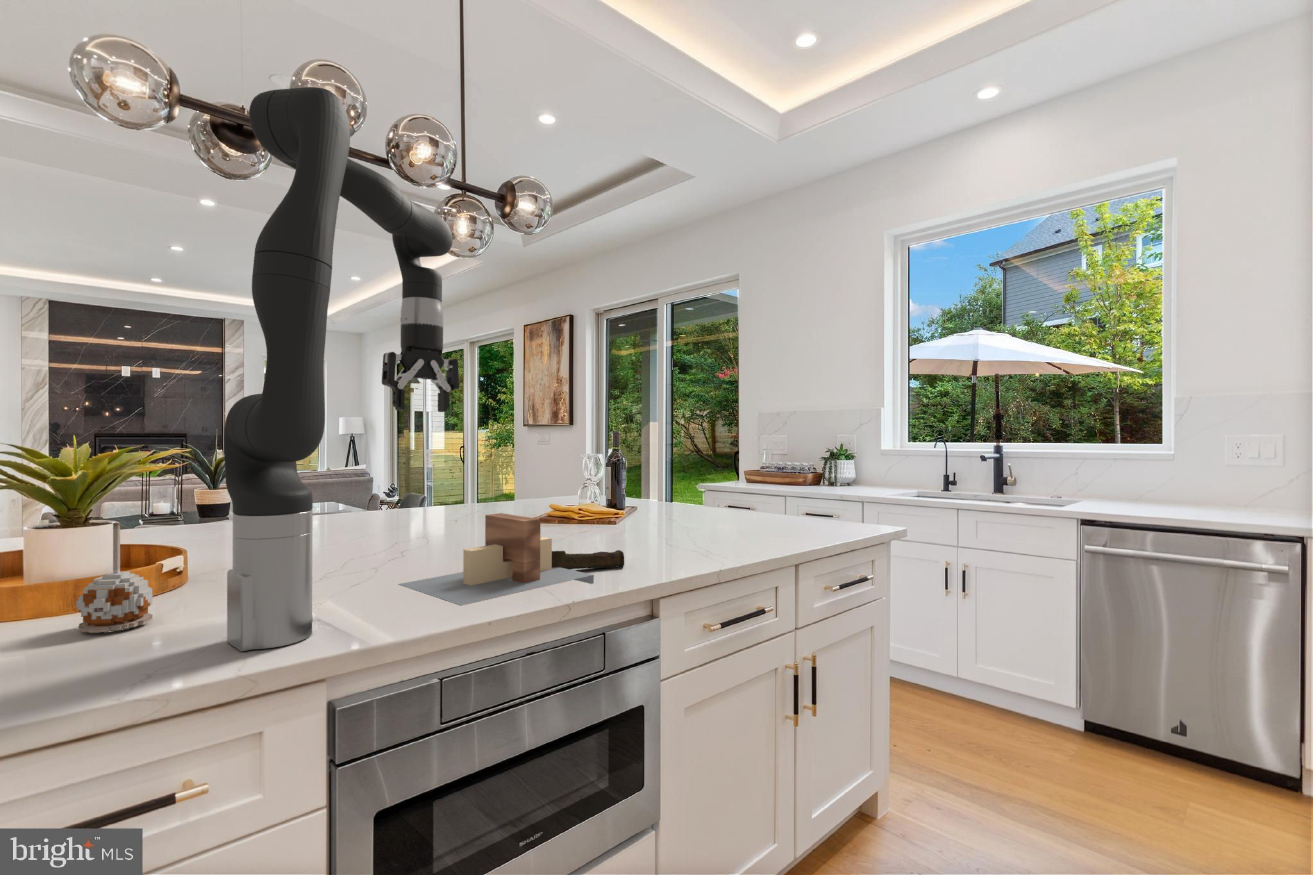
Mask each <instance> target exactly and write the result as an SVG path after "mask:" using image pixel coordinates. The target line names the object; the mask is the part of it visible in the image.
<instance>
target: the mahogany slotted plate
mask: <svg viewBox="0 0 1313 875" xmlns="http://www.w3.org/2000/svg"><path fill="white" fill-rule="evenodd" d="M484 518H485V521H484V522H485V524H484V526H485V527H484V528H485V531H484V532H485V534H484V535H485V536H484V539H485V540H484V541H485V542H484V546H488V545H495V544H496V545H500V546H503V559H510V560H513V562H512V580H514V581H518V582H522V583H527V582H532V581H536V580H540V537H541V519H540V518H535V517H529V516H523V515H515V514H509V513H502V512H500V513H493V514H485V517H484Z"/></svg>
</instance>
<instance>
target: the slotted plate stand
mask: <svg viewBox="0 0 1313 875" xmlns="http://www.w3.org/2000/svg"><path fill="white" fill-rule="evenodd" d="M552 543H553V538H552V537H546V536H542V537H541V536H540V580H536V581H532V582H527V583H522V582H518V581H514V580H512V562H513V560H510V559H503V546H500V545H496V544H495V545H488V546H485V545H483V546H477V547H476V546H475V547H469V548H463V553H462V554H463V557H462V558H463V559H462V560H463V568H462V569H463V571H461V572H456V573H450V574H446V575H445V574H444V575H439V576H435V577H429V578H423V579H418V580H412V581H408V582H401V583H398V585H399V586H402V587H404V588H408V589H411V590H413V591H416V592H419V593H421V594H422V593H423V594H425V595H429V596H431V597H434V598H436V599H437V598H438V599H440V600H443V601H446V602H449V603H453V604H455V605H458V606H465V605H466V606H467V605H469V604H475V603H478V602H482V601H488V600H492V599H497V598H500V597H501V598H502V597H504V596H509V595H513V594H518V593H522V592H523V593H524V592H526V591H532V590H535V589H539V588H544V587H549V586H552V585H556V584H561V583H565V582H570V581H578V582H582V583H585V584H589V585H590V584H591V585H592V584H595V582H594V581H595V580H594V577H595V575H594V574H592V573H587V572H582V571H578V570H575V569H565V568H561V567H552V551H553V550H552V549H553V548H552V546H553V544H552Z"/></svg>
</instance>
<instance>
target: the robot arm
mask: <svg viewBox="0 0 1313 875" xmlns="http://www.w3.org/2000/svg"><path fill="white" fill-rule="evenodd" d="M248 116H249V117H248V118H249V124H250V128H251V130H252V132H253V134H254V136H255V138H256V140H257V141H258V143H259V144H260V145H261V147H262V148H264V149H265V151H266V152H268V153H269V155H271V156H273V157H274V158H275V159H277V160H278V161H280V162H282V164H283V163H284V164H285V165H287V166H289V167H290V168H292V169H294V170H295V172H294V174H293V178H292V181H291V184H290V186H289V188H288V191H287V193H286V194H285V196H284V197H283V199H282V200H281V202H280V203H278V205H277V207H276V208H275V210H274V211H273V212H272V214H271V215H270V217H269V218H268V220H267V221H266V223H265V224H264V226H263V228H262V230H261V231H260V233H259V236H258V237H257V240H256V243H255V248H254V253H253V254H254V256H253V264H252V273H251V274H252V275H251V276H252V277H251V295H252V296H251V297H252V301H253V305H254V309H255V312H256V316H257V318H258V322H259V325H260V328H261V330H262V333H263V338H264V342H265V347H266V366H265V371H264V372H265V373H264V374H265V375H264V383H263V387H262V392H261V393H255V394H250V395H246V396H244V397H242V398H240V399H238V400H237V401H236V402H235V403H234V404H233V405H232V406H231V408H230V409H229V410H228V412H227V415H226V418H225V421H224V422H225V423H224V426H223V427H224V428H223V454H224V456H223V457H224V473H225V475H224V478H225V484H226V485H225V486H226V490H227V493H228V495H229V497H230V499H231V503H232V568H231V569H228V570H227V574H226V575H227V576H226V581H227V582H226V642H227V643H228V644H230V645H232V646H233V647H234V648H235V649H237V650H238V651H240V652H246V651H250V650H263V649H271V648H277V647H285V646H288V645H292V644H295V643H298V642H301V641H303V640H305V639H308V638H309V637H310V636H312V634H313V621H314V620H313V619H314V618H313V529H314V528H313V523H314V522H313V520H314V519H313V515H314V514H313V513H314V512H313V507H314V506H313V493H312V490H311V489H310V488H309V487H308V486H307V484H305V483H304V482H303V481H302V480H301V478H300V475H299V474H298V473H299V472H298V469H297V462H300V461H302V460H305V459H307V458H309V457H310V456H311V455H312V454H314V453H315V452H316V450H317V449H318V447H319V446H320V444H321V441H322V440H323V436H324V432H325V426H326V425H325V423H326V407H325V405H326V403H325V374H324V373H325V372H324V371H325V370H324V368H325V367H324V366H325V349H326V339H327V338H326V335H327V322H328V321H327V320H328V310H329V302H330V295H331V285H332V284H331V283H332V274H333V254H334V252H333V251H334V243H335V242H334V241H335V236H336V235H335V233H336V224H337V216H338V209H339V202H340V197H341V198H342V199H343V200H346V201H347V202H349V203H350V204H351V205H353V206H355V207H356V208H357V209H358V210H360V211H361V213H362V212H363V214H365V215H366V216H367V217H368V218H369V219H371V220H372V221H373V222H374V223H375V224H377V225H378V226H379V227H380V228H382V229H383V230H384V231H386V233H388V234H391V235H392V236H391V238H392V244H393V248H394V251H395V254H396V258H397V261H398V265H399V269H400V270H399V271H400V275H401V278H402V279H401V280H402V281H401V282H402V286H401V287H402V292H401V294H402V295H401V298H402V301H401V308H400V318H399V320H400V354H399V353H396V352H395V351H389V352H385V353H384V354H383V355H382V357H383V358H382V368H381V370H382V372H381V385H383V386H386V387H388V388H390V389H391V390H392V400H391V402H392V407H394V408H395V409H394V410H395V411H404V410H405V404H406V403H405V398H406V396H405V393H406V392H405V391H406V390H405V389H404V388H405V386H406V385H407V384H408V383H409V382H410V381H411V380H412V379H413V380H414V379H422V380H430V382H431V383H432V384H434V386H435V387H436V389H437V390H438V391H439V392H437V411H438V413H446V412H447V411H448V409H449V408H450V393H451V392H452V391H454V390H458V389H459V388H460V378H459V376H460V375H459V373H460V372H459V360H458V359H457V358H448V359H447V358H444V357H443V350H444V310H443V302H442V301H443V278H442V274H441V273H440V272H439V271H438V270H436V269H434V268H431V267H426V266H422V264H421V261H420V260H421V259H420V258H430V257H441V256H445V255H447V253H449V252H450V251H451V248H452V247H453V242H454V241H453V234H452V231H451V228H450V226H449V225H448V223H447V222H446V221H445V220H444V219H443V218H442V217H441V216H439V215H438V214H437V213H436V212H433V211H431V210H430V209H428V208H426V207H424V206H423V205H421V204H420V203H418V202H415V201H412V199H410V198H409V197H408V196H407V195H406V194H405V192H403V191H402V190H401V189H400V188H399V187H398V186H397V185H396V184H395V183H393V182H392V181H391V180H390V179H388V178H387V177H386V176H384V175H383V174H381V173H379V172H378V171H376V170H373V169H371V168H369V167H367V166H365V165H363V164H361V163H358V162H357V161H354V160H352V159H350V158H349V152H350V146H351V129H350V121H349V117H348V113H347V111H346V108H345V106H344V104H343V103H342V100H341V99H340V98H339V97H338V95H336V94H335V93H333V91H331V90H329V89H327V88H323V87H317V86H303V87H295V88H293V87H292V88H282V89H272V90H267V91H262V92H260V93H258V94H257V95H256V96H254V98H253V99H252V100H251V102H250V106H249V109H248ZM399 363H400V364H401V366H402V369H401V371H400V372H399V373H398V374H397V375H396V366H397V365H398V364H399ZM442 368H444V370H445V371H446V375H444V373H443V372H442V370H441V369H442Z"/></svg>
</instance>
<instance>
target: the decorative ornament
mask: <svg viewBox="0 0 1313 875" xmlns="http://www.w3.org/2000/svg"><path fill="white" fill-rule="evenodd" d="M77 599H78V600H76V601H75V603H76V604H75V605H76V610H78V613H80V618H82V622H80V623H79V624H78V626H77V627H78V628H77V630H78V631H80V632H81V633H89V634H94V633H95V634H96V633H97V634H100V633H101V632H104V633H110V632H109V631H117V630H121V631H123V630H122V629H125V630H128V629H127V628H131V629H132V627H133V628H135V627H138V626H142V625H145V624H147V623H149V622H151V621H153V614H152V613H149V607H150V606H153V587H151V586H149V580H148V579H145V577H144V576H140V574H136V573H131V570H130V571H129V570H128V571H124V570H123V571H121V522H113V523H112V572H108V573H106V574H103V575H102V576H100V577H97V578H93V580H92V582H90V583H88V584H87V586H86V587H83V589H82V594H81V595H79V596H78V598H77ZM99 632H100V633H99ZM117 632H118V631H117ZM101 634H102V633H101Z"/></svg>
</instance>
